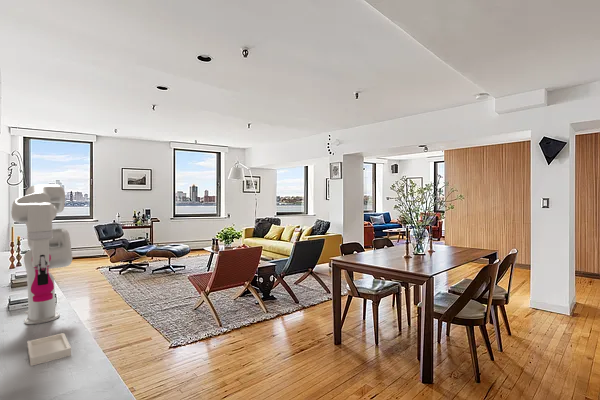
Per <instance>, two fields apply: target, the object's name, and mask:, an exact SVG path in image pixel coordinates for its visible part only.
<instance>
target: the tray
mask: <svg viewBox="0 0 600 400" xmlns="http://www.w3.org/2000/svg"><path fill="white" fill-rule="evenodd" d="M26 344H27V352H28V353H27V354H28V359H29V366H30V367H32V366H36V365H40V364H44V363H48V362H51V361H54V360H55V361H56V360H59V359H63V358H68V357H70V356H72V347H71V344H70V343H69V340H68V339H67V337H66V334H65V332H63V333H62V332H61V333H57V334H52V335H49V336H45V337H39V338H36V339H31V340H27V343H26Z"/></svg>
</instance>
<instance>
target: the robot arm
mask: <svg viewBox="0 0 600 400" xmlns="http://www.w3.org/2000/svg"><path fill="white" fill-rule="evenodd" d="M65 202H66V192H65V189H64V187H62V186H61V185H59V184H34V185H31V186H29V187H28V188H27V189H26V191H25V195H24V196H20V197H18V198H15V200H13V202H12V204H11V211H10V213H11V214H10V215H11V218H12V220H13V221H14V222H15V223H20V224H22V223H23V224H25V226H26V233H27V234H26V238H27V245H28V247H29V250H28V251H26V252H25V253H24V255H23V262H24V263H23V264H24V266H25V267H24V269H25V271H26V282H27V305H28V307H27V308H28V309H27V310H25V311H24V314H25V315H27V317H26V318H25V319H24V324H26V325H39V324H44V323H48V322H52V321H54V320H57V319H58V318H59V317H60V316H61V315H60V313H59V312H56V297H55V296H56V293H55V289H56V288H54V289H53V290H52V292H51V293H53V298H52V299H51V300H47V301H43V302H33V296H34V294H33V293H32V292H31V286H32V283H33V281H34V278H35V269H34V267H35V266H38V275H37V280H38V285H45V284H48V273H47V266H48V265H49V264H50V265H49V266H50V267H49V270H51V269H58V268H65V267H69V266H71V264H72V262H73V252H72V251H73V249H72V243H71V237H70V233H69V231H68V230H67V229H65V228H53V221H54V219H55V218H56V217H57V214H60V213H62V212H64V209H65ZM49 254H50V255H51V260H50V262H49ZM39 265H41V266H39ZM49 276H50V278H51V280H52V281H53V284H54V285H55V279H54V276H53V274H51V273H50V272H49Z"/></svg>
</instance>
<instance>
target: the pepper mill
mask: <svg viewBox="0 0 600 400" xmlns="http://www.w3.org/2000/svg"><path fill="white" fill-rule="evenodd" d="M50 260H51V255H50V254H49V262H50ZM49 265H50V264H49ZM49 265H48V266H47V273H48V284H45V285H38V280H37V275H38V266H35V267H34V269H35V278H34V281H33V283H32V286H31V292H32V293H33V294H34V296H33V302H43V301H47V300H51V299H52V298H53V293H51V292H52V290H53V289H55V283H54V284H53V281H52V280H51V278H50V276H49V273H50V272H49V270H50V269H49V267H50V266H49ZM39 266H41V265H39Z"/></svg>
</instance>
